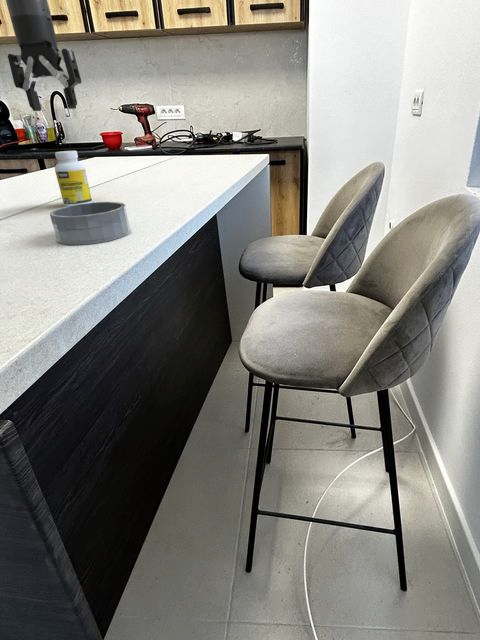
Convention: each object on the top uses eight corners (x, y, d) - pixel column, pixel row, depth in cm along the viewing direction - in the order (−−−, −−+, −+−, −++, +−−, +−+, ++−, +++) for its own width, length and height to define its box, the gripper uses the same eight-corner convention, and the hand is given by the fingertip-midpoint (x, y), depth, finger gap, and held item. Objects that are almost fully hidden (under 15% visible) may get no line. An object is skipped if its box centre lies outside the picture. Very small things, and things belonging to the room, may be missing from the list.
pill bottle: (58, 207, 101) (44, 153, 95) (73, 202, 106) (60, 150, 100) (84, 207, 100) (70, 152, 94) (97, 201, 105) (86, 149, 99)
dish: (42, 244, 71) (33, 217, 69) (81, 226, 82) (75, 202, 79) (109, 245, 69) (102, 216, 67) (141, 226, 79) (136, 201, 77)
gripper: (-14, 16, 83) (14, 112, 91) (51, 9, 80) (74, 108, 88) (12, 23, 90) (36, 111, 98) (73, 15, 87) (93, 107, 95)
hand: (54, 109), depth 93 cm, fingers open, 8 cm apart
